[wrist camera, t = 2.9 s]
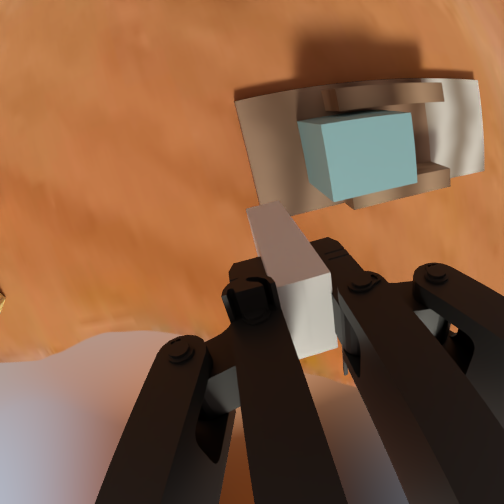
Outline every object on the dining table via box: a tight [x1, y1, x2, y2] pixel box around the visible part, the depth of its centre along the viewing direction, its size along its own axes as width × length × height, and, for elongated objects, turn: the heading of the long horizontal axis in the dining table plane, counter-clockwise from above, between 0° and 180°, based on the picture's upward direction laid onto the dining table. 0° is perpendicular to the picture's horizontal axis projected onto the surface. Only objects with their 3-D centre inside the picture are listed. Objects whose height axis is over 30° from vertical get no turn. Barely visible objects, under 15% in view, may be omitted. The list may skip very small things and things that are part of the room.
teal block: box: [297, 109, 417, 202], centre depth 24 cm, size 8×6×6 cm
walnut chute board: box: [234, 78, 484, 216], centre depth 26 cm, size 30×12×4 cm, turn 102°
